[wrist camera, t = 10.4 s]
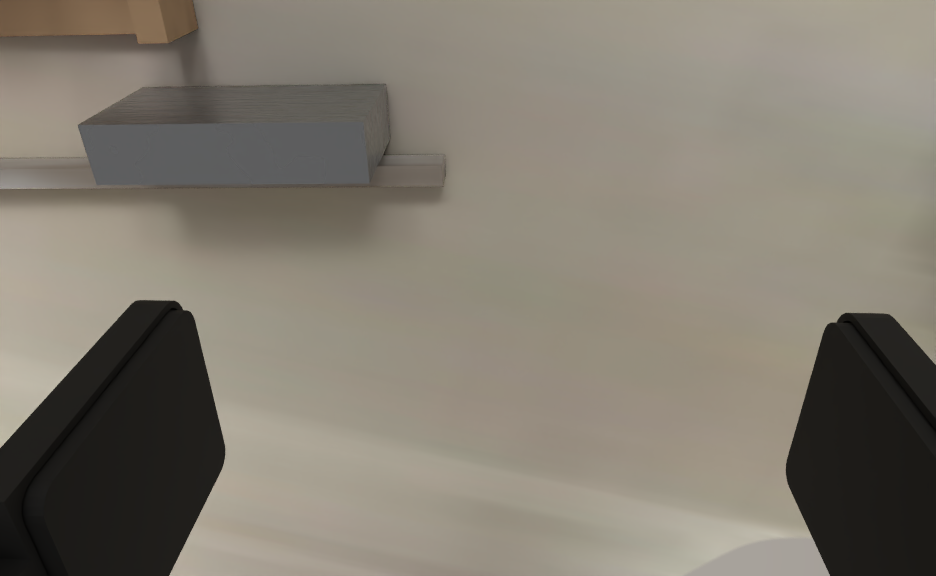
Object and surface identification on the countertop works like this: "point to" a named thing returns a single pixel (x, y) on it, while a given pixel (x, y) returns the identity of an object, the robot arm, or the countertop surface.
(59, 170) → the bay
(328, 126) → the grey rectangular block
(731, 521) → the countertop surface
